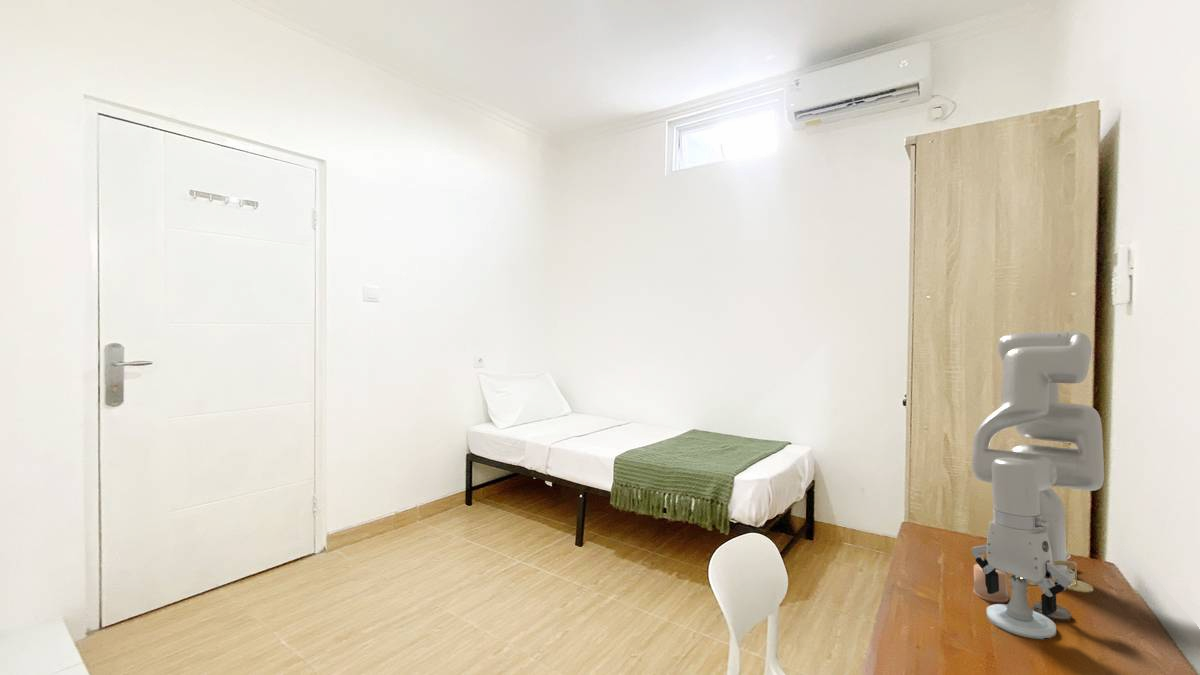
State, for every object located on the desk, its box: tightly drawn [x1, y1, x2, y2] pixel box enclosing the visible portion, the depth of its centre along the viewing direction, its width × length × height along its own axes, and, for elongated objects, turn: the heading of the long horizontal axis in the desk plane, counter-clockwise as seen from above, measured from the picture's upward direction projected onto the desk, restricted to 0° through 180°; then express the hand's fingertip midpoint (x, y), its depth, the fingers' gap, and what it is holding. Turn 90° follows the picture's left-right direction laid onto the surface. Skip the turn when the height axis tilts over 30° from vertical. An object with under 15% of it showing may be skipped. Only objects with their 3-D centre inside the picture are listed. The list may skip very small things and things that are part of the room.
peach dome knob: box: [972, 563, 1010, 604], centre depth 116 cm, size 6×6×6 cm
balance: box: [1016, 560, 1094, 622], centre depth 107 cm, size 6×14×12 cm, turn 25°
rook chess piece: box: [1006, 575, 1034, 622], centre depth 104 cm, size 4×4×8 cm
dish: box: [986, 603, 1057, 640], centre depth 104 cm, size 11×11×1 cm
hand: (1019, 602), depth 104 cm, fingers open, 9 cm apart
